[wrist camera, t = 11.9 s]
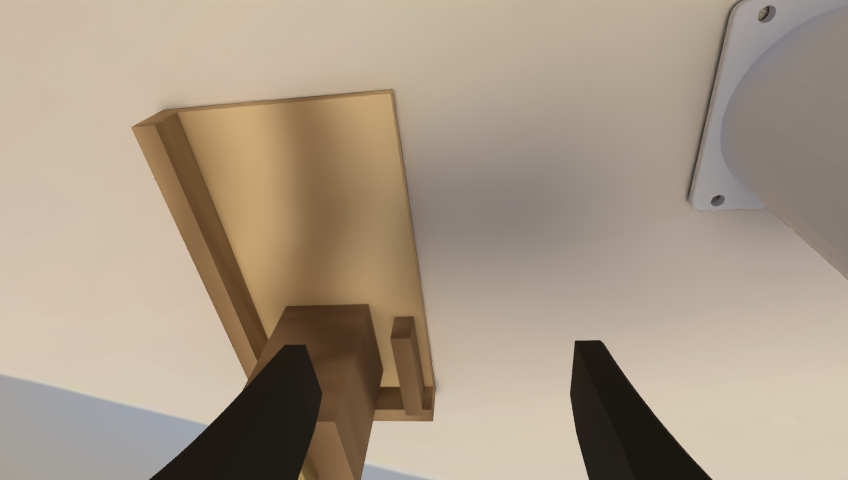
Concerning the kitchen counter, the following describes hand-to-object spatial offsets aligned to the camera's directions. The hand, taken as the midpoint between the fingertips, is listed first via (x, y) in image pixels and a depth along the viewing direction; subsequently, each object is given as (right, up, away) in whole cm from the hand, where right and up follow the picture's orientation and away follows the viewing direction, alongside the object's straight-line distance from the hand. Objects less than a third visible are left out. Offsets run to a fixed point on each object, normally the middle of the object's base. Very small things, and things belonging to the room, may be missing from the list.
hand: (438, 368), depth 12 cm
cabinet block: (-5, -2, +13) cm, 14 cm away
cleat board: (-6, +2, +11) cm, 13 cm away
